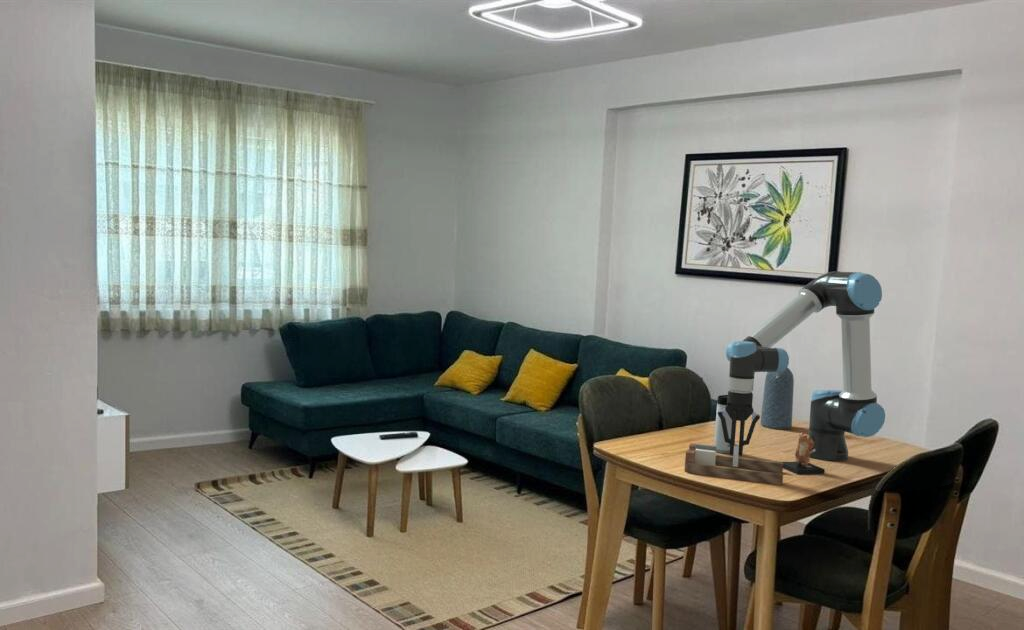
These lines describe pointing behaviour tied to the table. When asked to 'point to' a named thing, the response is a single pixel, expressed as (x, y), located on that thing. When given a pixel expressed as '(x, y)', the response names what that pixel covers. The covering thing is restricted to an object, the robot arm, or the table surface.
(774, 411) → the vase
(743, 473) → the guide
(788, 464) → the figurine
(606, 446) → the table surface
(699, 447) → the block
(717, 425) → the travel mug
